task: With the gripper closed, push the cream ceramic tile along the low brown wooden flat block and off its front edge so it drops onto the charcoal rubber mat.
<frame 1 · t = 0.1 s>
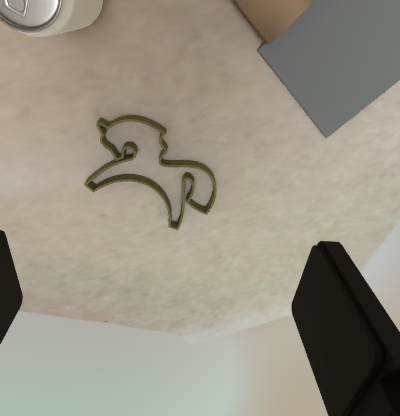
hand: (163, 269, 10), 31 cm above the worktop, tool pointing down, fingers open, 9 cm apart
cookie cutter: (155, 170, 43), on the worktop
mat: (353, 44, 35), on the worktop
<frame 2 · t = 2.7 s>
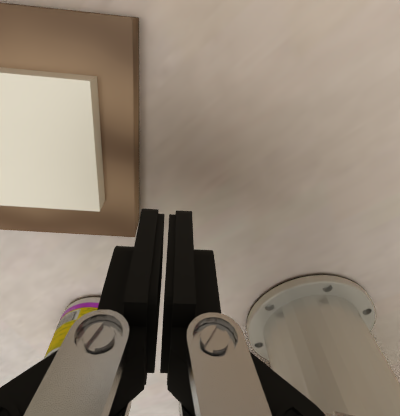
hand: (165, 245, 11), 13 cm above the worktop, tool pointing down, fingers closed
supplement bottle: (99, 315, 32), on the worktop
brown wooden flat block: (19, 124, 22), on the worktop
tile: (43, 140, 20), point 2 cm above the worktop, touching brown wooden flat block
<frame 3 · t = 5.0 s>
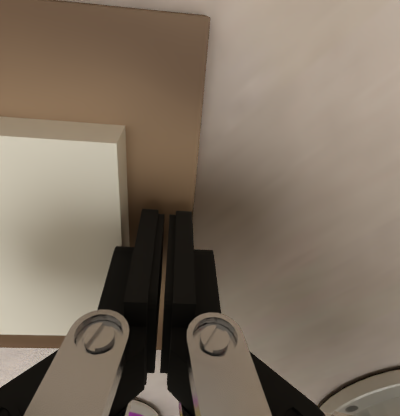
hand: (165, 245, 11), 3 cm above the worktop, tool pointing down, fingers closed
supplement bottle: (118, 414, 24), on the worktop
tile: (30, 227, 11), point 2 cm above the worktop, touching brown wooden flat block, gripper
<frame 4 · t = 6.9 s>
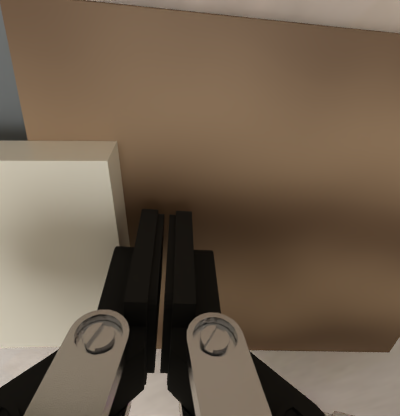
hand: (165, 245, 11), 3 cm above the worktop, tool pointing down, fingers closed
brown wooden flat block: (252, 202, 14), on the worktop
tile: (33, 244, 12), point 3 cm above the worktop, touching gripper
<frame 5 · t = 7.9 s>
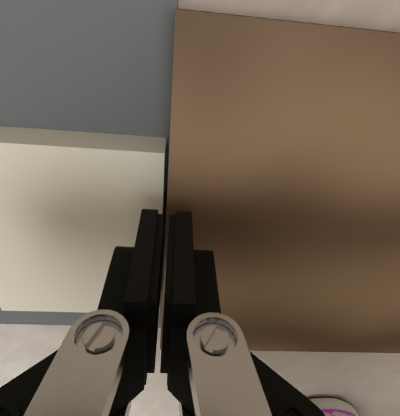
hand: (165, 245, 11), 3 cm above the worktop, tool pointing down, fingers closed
supplement bottle: (311, 413, 25), on the worktop
brown wooden flat block: (344, 208, 15), on the worktop
tile: (81, 221, 14), resting on mat
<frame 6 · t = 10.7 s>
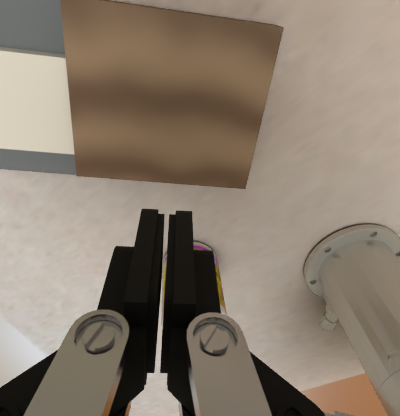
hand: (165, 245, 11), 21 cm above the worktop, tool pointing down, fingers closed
supplement bottle: (190, 258, 40), on the worktop
brown wooden flat block: (169, 101, 29), on the worktop
tile: (32, 100, 27), resting on mat
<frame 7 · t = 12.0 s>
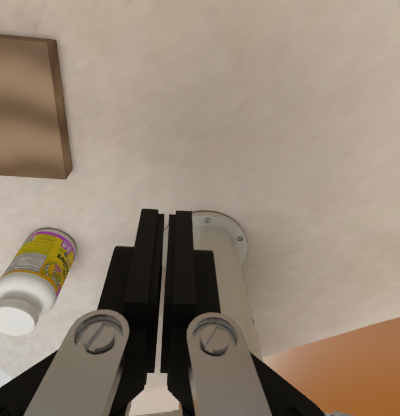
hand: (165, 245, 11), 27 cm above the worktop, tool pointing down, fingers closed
supplement bottle: (53, 244, 45), on the worktop
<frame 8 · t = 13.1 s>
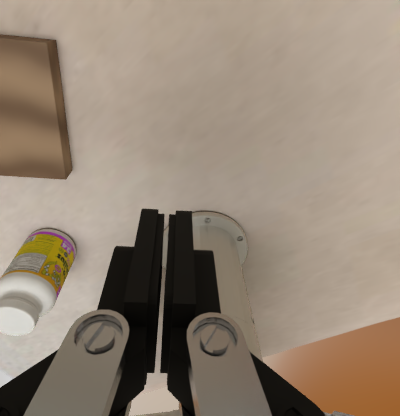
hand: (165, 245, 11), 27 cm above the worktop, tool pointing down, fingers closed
supplement bottle: (53, 244, 45), on the worktop
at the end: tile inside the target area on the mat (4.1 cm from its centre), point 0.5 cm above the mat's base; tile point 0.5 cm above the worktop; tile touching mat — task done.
